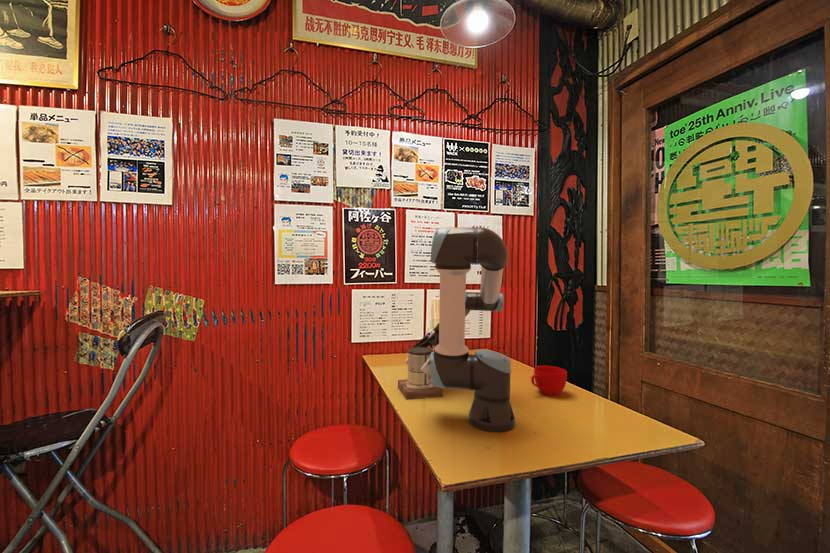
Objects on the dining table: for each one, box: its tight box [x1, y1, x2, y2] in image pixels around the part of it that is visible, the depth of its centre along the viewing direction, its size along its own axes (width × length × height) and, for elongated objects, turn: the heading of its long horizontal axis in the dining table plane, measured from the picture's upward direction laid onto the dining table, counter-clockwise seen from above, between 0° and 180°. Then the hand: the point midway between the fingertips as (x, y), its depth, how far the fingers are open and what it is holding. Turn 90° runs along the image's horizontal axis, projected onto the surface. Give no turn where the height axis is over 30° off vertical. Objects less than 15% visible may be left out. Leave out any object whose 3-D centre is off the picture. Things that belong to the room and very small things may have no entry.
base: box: [397, 378, 444, 400], centre depth 147 cm, size 15×15×3 cm
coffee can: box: [407, 346, 434, 387], centre depth 147 cm, size 10×10×14 cm
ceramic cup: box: [530, 365, 568, 397], centre depth 148 cm, size 13×17×10 cm
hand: (414, 367), depth 146 cm, fingers open, 12 cm apart
